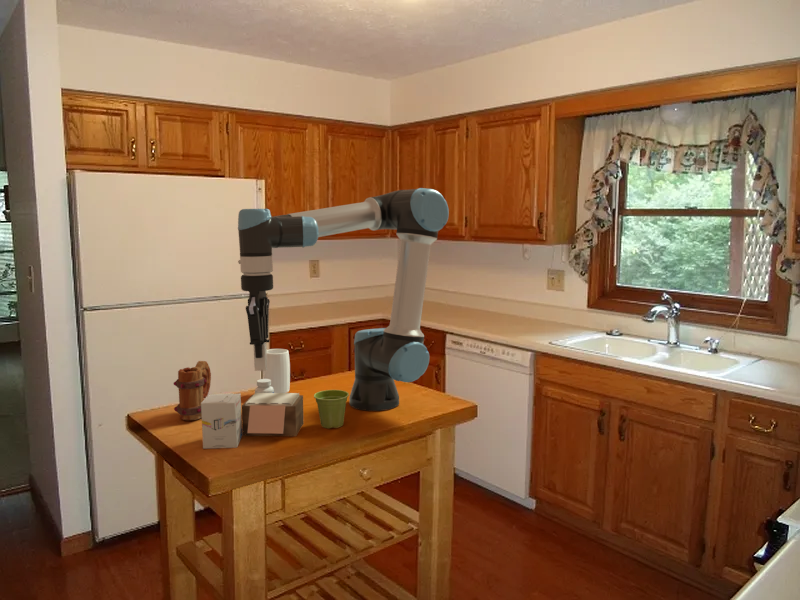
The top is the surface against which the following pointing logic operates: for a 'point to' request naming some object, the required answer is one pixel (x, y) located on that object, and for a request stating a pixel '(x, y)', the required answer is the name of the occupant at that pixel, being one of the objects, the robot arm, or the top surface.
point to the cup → (278, 370)
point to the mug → (192, 390)
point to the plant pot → (331, 407)
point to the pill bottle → (264, 386)
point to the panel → (266, 419)
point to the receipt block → (289, 400)
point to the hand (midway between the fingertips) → (261, 369)
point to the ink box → (221, 420)
